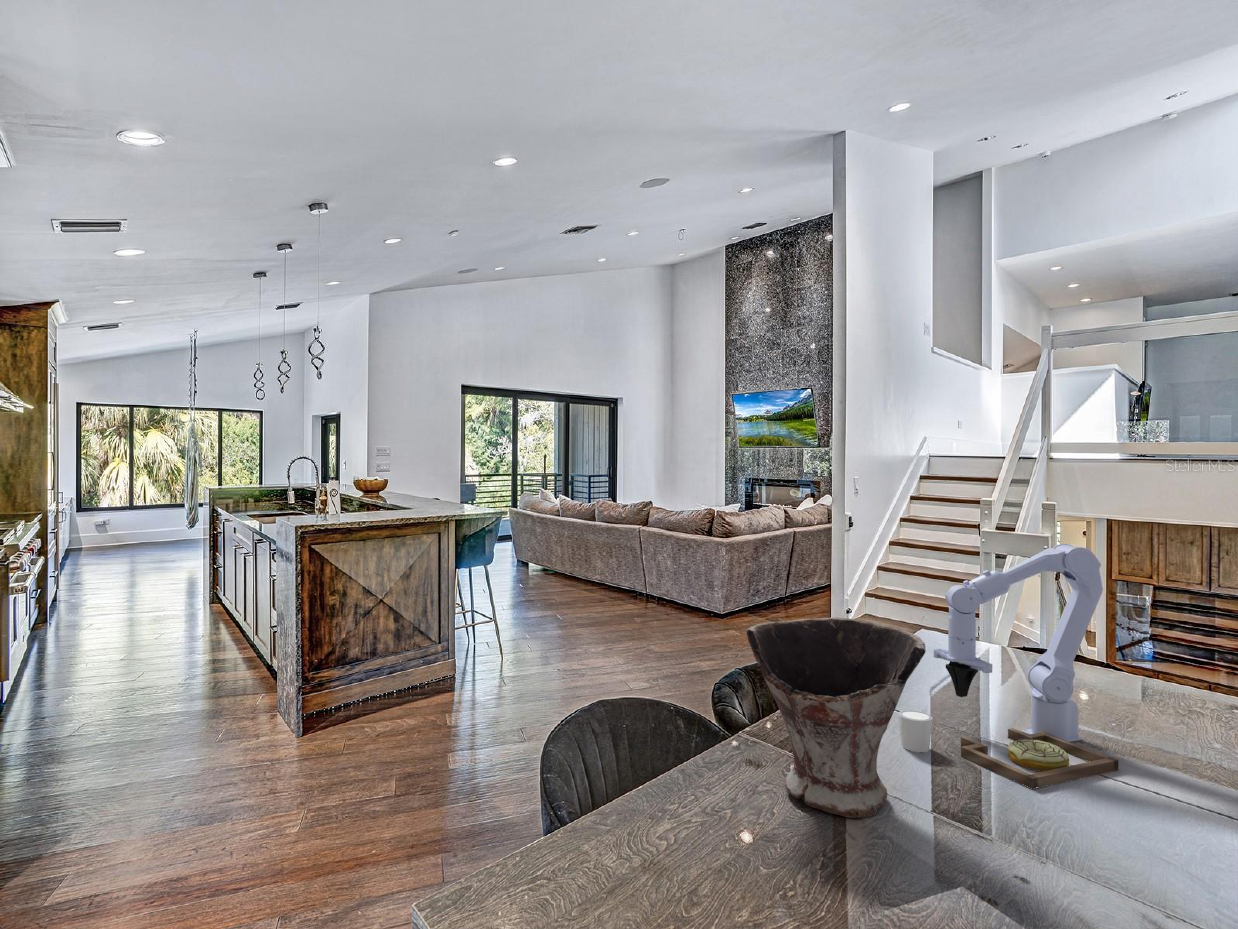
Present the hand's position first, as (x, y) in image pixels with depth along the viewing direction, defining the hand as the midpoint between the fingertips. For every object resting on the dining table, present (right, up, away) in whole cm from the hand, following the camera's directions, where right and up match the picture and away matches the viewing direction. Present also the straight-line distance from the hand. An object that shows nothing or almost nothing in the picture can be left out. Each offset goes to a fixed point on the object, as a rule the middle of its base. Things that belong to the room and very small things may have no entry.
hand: (961, 696), depth 158 cm
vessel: (-40, -7, -33) cm, 53 cm away
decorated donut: (+6, -8, -18) cm, 21 cm away
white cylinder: (-16, -8, -11) cm, 21 cm away
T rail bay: (+6, -8, -17) cm, 19 cm away
